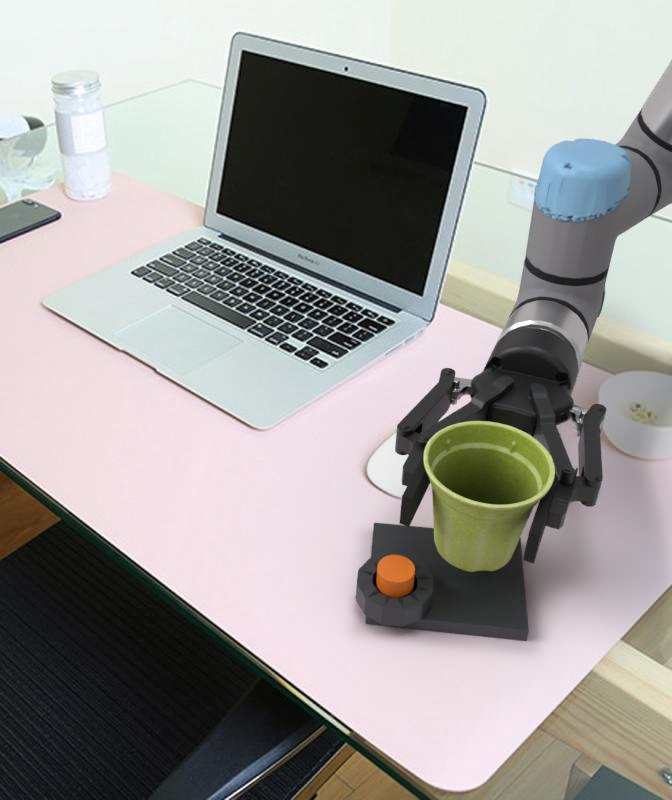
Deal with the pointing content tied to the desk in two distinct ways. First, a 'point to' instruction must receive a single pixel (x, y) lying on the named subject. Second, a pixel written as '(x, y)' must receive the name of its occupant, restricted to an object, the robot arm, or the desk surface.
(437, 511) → the plant pot
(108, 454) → the desk surface
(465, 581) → the dark piece
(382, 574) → the button
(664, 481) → the desk surface
